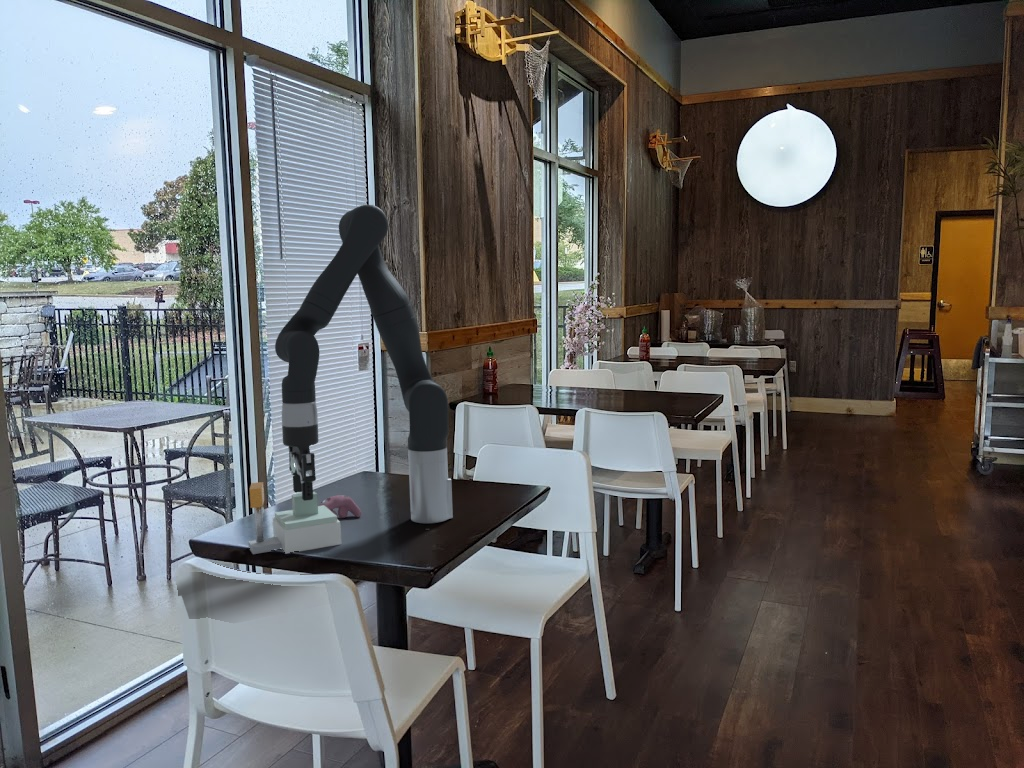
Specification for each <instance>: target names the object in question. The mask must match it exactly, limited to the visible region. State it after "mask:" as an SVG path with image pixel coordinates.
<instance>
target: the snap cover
mask: <svg viewBox="0 0 1024 768" xmlns="http://www.w3.org/2000/svg"><path fill="white" fill-rule="evenodd" d="M291 501H292V502H291V507H292V509H289V510H288V509H287V510H282V511H275V512H274V517H275V518H276V519H277V520H278V521H279V522H280V524H281V525H282V526H283V527H284V528H285V529H286V530H288V529H294V528H300V527H307V526H313V525H319V524H326V523H332V522H337V519H338V517H337V516H336V515H335V514H334V513H333V512H331V511H330V510H329V509H328V508H327V507H325V506H324V505H322V506H318V505H319V503H318V502H319V501H318V493H317V492H316V491H313V499H312V500H306V501H304V500H303V499H302V492H300V493H294V494H291Z"/></svg>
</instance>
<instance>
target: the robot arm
mask: <svg viewBox="0 0 1024 768" xmlns="http://www.w3.org/2000/svg"><path fill="white" fill-rule="evenodd" d="M388 231H389V221H388V218H387V215H386V214H385V212H384V211H383V209H381V208H380V207H378V205H377V206H376V205H374V204H363V205H359V206H357V207H355V208H353V209H351V210H349V211H347V212H345V213H344V214H343V215H342V216H341V218H340V220H339V224H338V233H339V238H340V239H341V242H342V244H341V246H340V247H339V249H338V251H337V252H336V254H335V255H334V257H333V258H332V259H331V261H330V262H329V264H328V265H327V266H326V267H325V268H324V269H323V271H322V272H321V273H320V275H318V277H317V278H316V280H315V281H314V283H313V285H312V286H311V287H310V289H309V291H308V293H307V295H306V296H305V298H304V300H303V301H302V303H301V305H300V307H299V309H298V310H297V312H295V314H293V316H292V317H291V318H290V319H289V320H288V321H287V323H286V324H285V325H284V326H283V328H282V329H281V330H280V332H279V333H278V336H277V337H276V340H275V342H274V343H275V344H274V350H275V353H276V356H277V357H278V358H279V359H280V360H281V361H283V362H285V363H288V367H287V369H288V372H287V375H285V376H284V377H283V378H282V380H281V401H282V403H281V405H282V406H281V427H282V428H281V430H282V444H283V445H284V446H286V447H288V458H289V471H290V473H291V476H292V489H293V490H292V491H293V492H294V493H302V499H303V500H304V501H306V500H312V499H313V492H314V487H313V486H314V484H313V483H314V482H316V480H317V478H316V477H317V476H316V462H315V461H316V460H315V459H316V458H315V453H314V452H311V449H310V447H311V446H314V445H317V444H318V443H319V424H318V423H319V418H318V408H317V402H316V401H317V400H316V399H317V398H316V396H317V395H316V377H317V373H318V368H319V362H320V346H319V343H318V340H317V338H316V337H315V336H316V334H317V333H318V332H319V331H320V330H323V329H325V328H327V326H328V325H329V324H330V322H331V321H332V318H333V317H334V315H335V313H336V312H337V310H338V308H339V306H340V304H341V302H342V301H343V299H344V297H345V295H346V294H347V291H348V290H349V288H350V287H351V284H352V283H353V282H354V279H355V278H356V277H357V276H358V278H359V281H360V284H361V286H362V290H363V292H364V296H365V298H366V301H367V303H368V307H369V309H370V312H371V315H372V317H373V320H374V324H375V326H376V328H377V331H378V334H379V336H380V338H381V341H382V343H383V345H384V347H385V349H386V352H387V354H388V356H389V358H390V360H391V362H392V364H393V367H394V369H395V372H396V376H397V379H398V383H399V384H398V385H399V387H400V391H401V396H402V400H403V404H404V406H405V409H406V410H407V411H408V416H409V418H408V419H409V433H408V438H407V456H408V458H407V459H408V476H409V477H408V478H409V480H408V481H409V499H410V500H409V503H410V520H411V522H414V523H419V524H436V523H441V522H445V521H447V520H449V519H453V518H454V515H453V513H454V512H453V511H454V510H453V491H452V490H453V489H452V488H453V486H452V479H451V478H449V472H448V470H449V468H448V467H449V466H448V464H449V463H448V438H449V400H448V399H449V398H448V396H447V395H448V394H447V393H446V391H445V389H444V388H443V387H442V386H441V385H440V384H438V383H437V382H435V380H434V379H433V377H432V375H431V373H430V370H429V368H428V366H427V363H426V361H425V358H424V355H423V350H422V344H421V342H422V341H421V336H420V330H419V326H418V321H417V318H416V315H415V312H414V308H413V306H412V303H411V300H410V299H409V296H408V295H407V293H406V291H405V289H404V288H403V287H402V285H401V284H400V283H399V281H398V280H397V279H396V277H395V276H394V275H393V274H392V272H391V271H390V269H389V267H388V266H387V264H386V261H385V259H384V256H383V253H382V250H381V247H380V244H381V243H382V241H384V239H385V238H386V236H387V234H388Z"/></svg>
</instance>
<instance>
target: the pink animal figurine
mask: <svg viewBox="0 0 1024 768" xmlns="http://www.w3.org/2000/svg"><path fill="white" fill-rule="evenodd" d="M322 505H324V506H325V507H327V508H328V509H329V510H330V511H331V512H333V513H334V514H335V515H336V516H337V518H340V519H344V518H346V517H348V512H349V513H351V514H352V515H353V516H354V517H356V518H360V517H361V516H362V511H361V509H360V507H359V506H358V505H357V503H355V501H354V499H352V497H350V496H348V495H347V494H344V495H339V494H337V495H333V496H329V497H327V498H326V499H324V500H323V501H321V502H320V503H318V506H322ZM335 509H337V512H336V511H335Z"/></svg>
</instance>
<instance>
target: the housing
mask: <svg viewBox="0 0 1024 768" xmlns="http://www.w3.org/2000/svg"><path fill="white" fill-rule="evenodd" d="M341 528H342V527H341V521H340V520H339V519H338V518H337V522H332V523H326V524H319V525H313V526H307V527H300V528H294V529H288V530H286V529H285V528H284V527H283V526H282V525H281V524H280V522H279V521H278V520H277V519H276V518H275V516H273V517H272V531H273V532H272V533H273V537H267V538H264V541H263V542H256V539H254V540H253V539H252V540H248V548H249V547H250V549H249V551H250V552H251V554H252V555H256V554H262V553H268V552H272V551H271V550H274V549H280V548H282V549H283V550H284V551H283V550H282V549H281V550H282V551H283V553H284V552H285V553H284V554H285V555H287V554H291V553H290V552H293V553H295V552H294V551H299V552H304V551H310V550H317V549H321V548H327V547H333V546H339V545H342V530H341Z"/></svg>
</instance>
